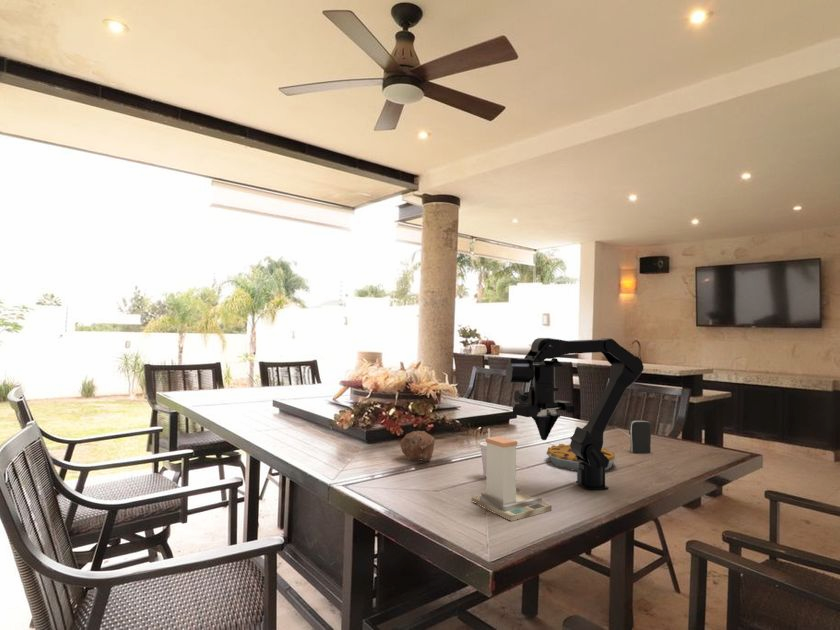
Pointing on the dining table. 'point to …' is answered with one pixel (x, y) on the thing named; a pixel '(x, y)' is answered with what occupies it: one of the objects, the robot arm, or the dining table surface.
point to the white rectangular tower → (501, 469)
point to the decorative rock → (418, 445)
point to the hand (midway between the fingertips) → (543, 439)
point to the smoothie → (484, 454)
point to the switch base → (513, 506)
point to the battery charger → (640, 436)
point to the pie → (572, 456)
